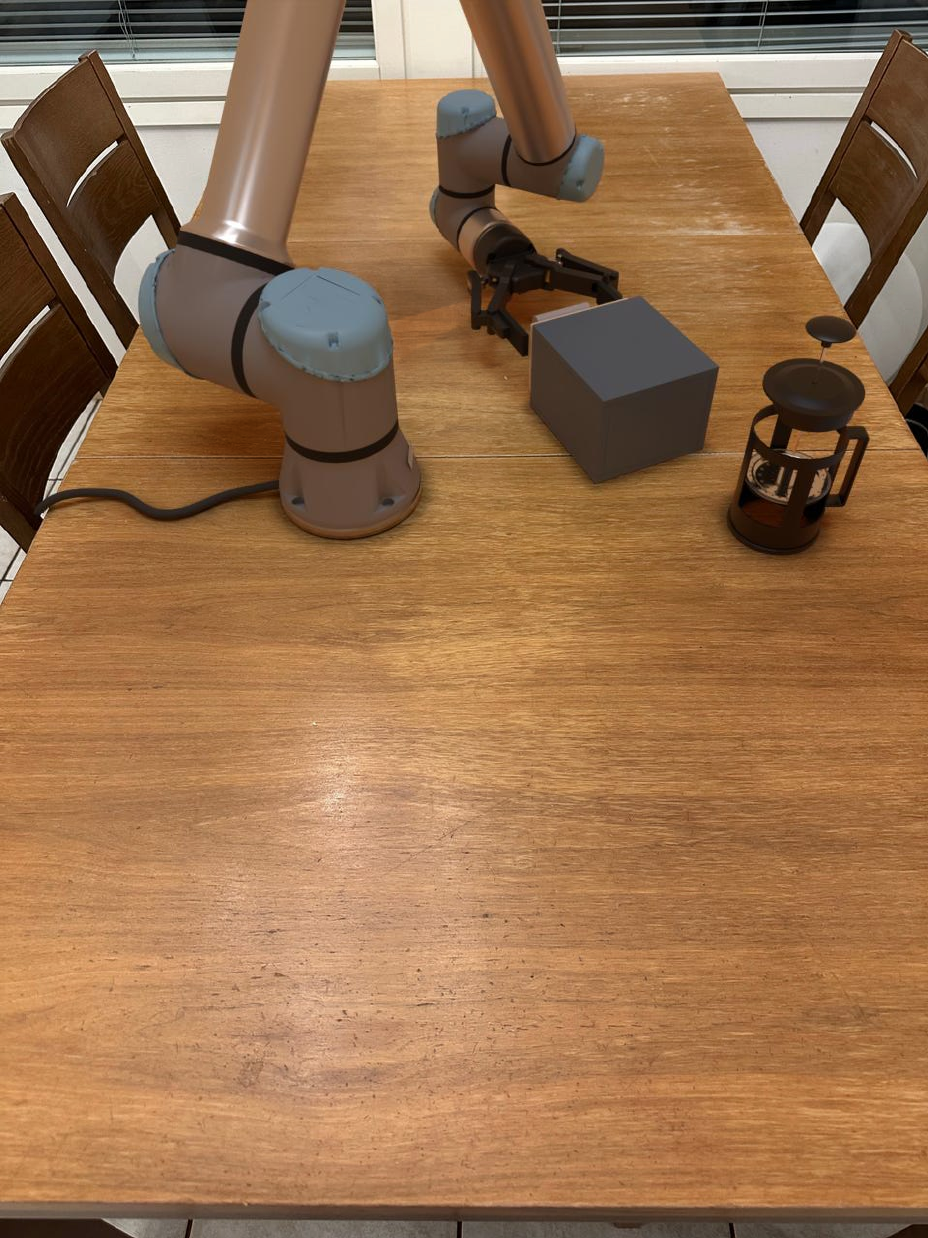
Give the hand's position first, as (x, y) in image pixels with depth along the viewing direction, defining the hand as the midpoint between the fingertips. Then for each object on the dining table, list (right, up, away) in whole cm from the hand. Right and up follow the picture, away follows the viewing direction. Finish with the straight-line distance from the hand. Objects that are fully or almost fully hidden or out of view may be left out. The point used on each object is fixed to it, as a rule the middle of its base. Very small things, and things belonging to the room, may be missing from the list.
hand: (577, 331), depth 110 cm
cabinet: (+4, -11, -1) cm, 12 cm away
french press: (+19, -24, -12) cm, 33 cm away
